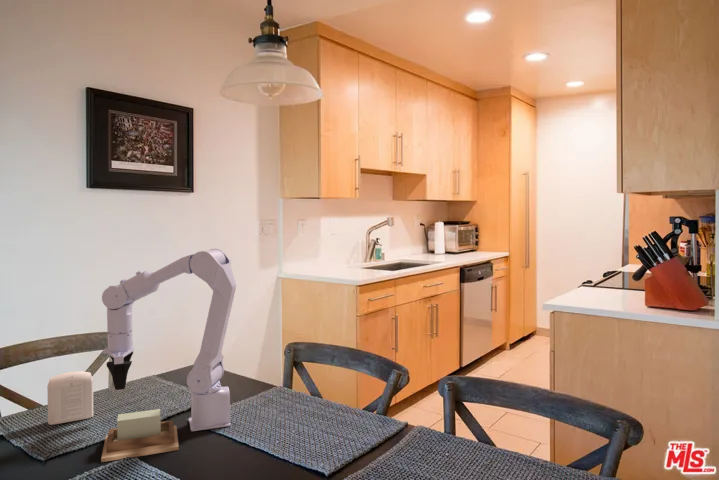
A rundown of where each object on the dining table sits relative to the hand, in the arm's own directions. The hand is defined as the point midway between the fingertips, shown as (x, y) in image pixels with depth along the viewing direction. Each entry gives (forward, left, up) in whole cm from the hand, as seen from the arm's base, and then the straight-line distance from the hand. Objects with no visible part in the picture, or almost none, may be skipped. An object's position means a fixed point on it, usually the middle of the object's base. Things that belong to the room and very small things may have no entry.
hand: (121, 384), depth 131 cm
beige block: (-5, +16, -9) cm, 19 cm away
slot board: (-5, +16, -9) cm, 19 cm away
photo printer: (+12, -5, -10) cm, 16 cm away
